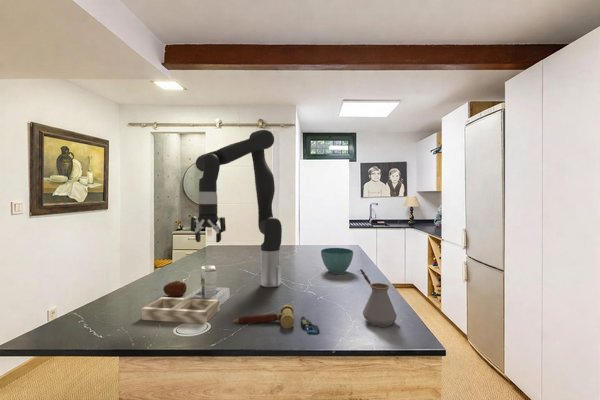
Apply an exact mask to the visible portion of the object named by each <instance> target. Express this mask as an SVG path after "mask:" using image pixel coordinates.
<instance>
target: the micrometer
mask: <svg viewBox="0 0 600 400" xmlns="http://www.w3.org/2000/svg"><path fill="white" fill-rule="evenodd" d="M300 325H301V327H302V329H305V330H306V331H307V334H314V335H317V334H319V333H320V328H319V326H318V325H316V324H313V323H312V322H311V321H310V320H309V319H306V316H301V318H300Z"/></svg>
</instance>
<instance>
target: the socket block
mask: <svg viewBox="0 0 600 400" xmlns="http://www.w3.org/2000/svg"><path fill="white" fill-rule="evenodd" d="M230 294H231V293H230V287H219V286H216V294H215V295H214V296H206V295H201V286H200V287H198V288H197V289H195V290H194V291H193V292H191V293H189V294H188V295H186V296H185V298H191V299H211V300H219V307H220V306H222V305H221V304H224V303H225V302H226V301H227V300H228V299H229V298H230Z"/></svg>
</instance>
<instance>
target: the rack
mask: <svg viewBox="0 0 600 400" xmlns="http://www.w3.org/2000/svg"><path fill="white" fill-rule="evenodd" d="M140 310H141V312H140V313H141V321H142V320H143V321H158V322H173V323H174V322H175V323H189V324H202V325H203V324H205V325H206V324H207V323H208V322H209V321H210V320H211V319H212V318H213V317H214V316H215V315H216V314H217V313H218V312H220V306H219V300H211V299H191V298H186V297H172V296H170V297H168V296H166V297H165V296H161V297H159V298H157V299H156V300H154V301H152V302H151V303H148V304H147V305H145V306H143V307H142V308H141V309H140Z"/></svg>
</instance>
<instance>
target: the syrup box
mask: <svg viewBox="0 0 600 400" xmlns="http://www.w3.org/2000/svg"><path fill="white" fill-rule="evenodd" d="M200 268H201V269H200V270H201V271H200V287H201V295H206V296H214V295H215V294H216V287H217V268H216V266H215V265H203V266H201V267H200Z"/></svg>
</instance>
